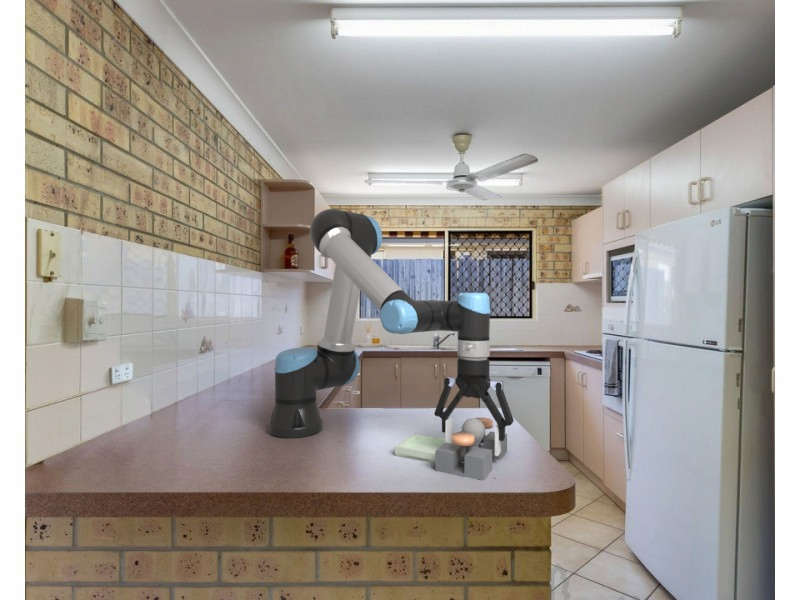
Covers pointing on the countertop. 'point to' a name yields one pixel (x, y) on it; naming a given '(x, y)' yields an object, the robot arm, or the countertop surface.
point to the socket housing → (469, 458)
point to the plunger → (463, 442)
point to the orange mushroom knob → (486, 424)
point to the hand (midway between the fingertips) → (472, 450)
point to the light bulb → (474, 430)
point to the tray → (419, 447)
